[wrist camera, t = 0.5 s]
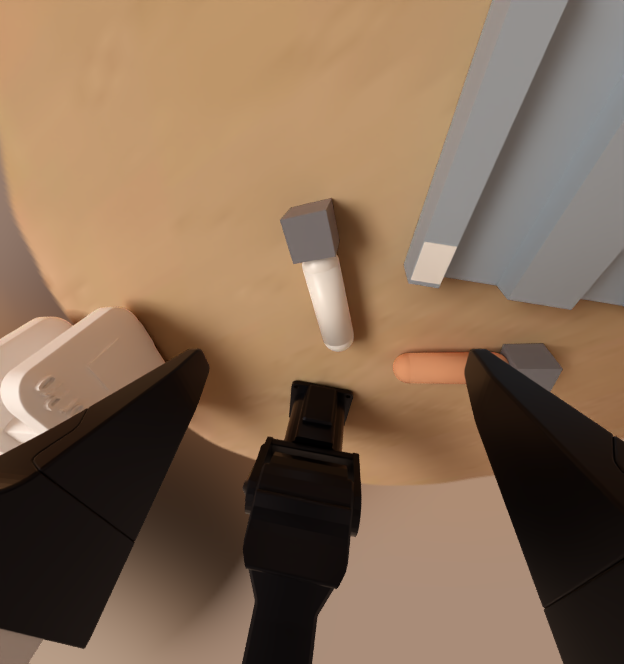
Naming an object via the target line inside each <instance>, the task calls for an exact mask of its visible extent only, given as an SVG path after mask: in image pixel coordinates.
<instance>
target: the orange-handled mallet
mask: <svg viewBox="0 0 624 664" xmlns="http://www.w3.org/2000/svg"><path fill="white" fill-rule="evenodd" d="M491 353H493V354H494V355H496V356H497V357H499V358H500V359H502V360H503V361H505V362H506V363H508V364H509V365H511V366H512V367H514V368H515V369H517V370H518V371H520V372H521V373H523V374H524V375H526V376H527V377H529V378H530V379H531V380H533V381H534V382H536V383H537V384H539V385H540V386H542V387H543V388H545V389H546V390H548V391H549V392H550V391H551V389H552V388H553V386H554V384H555V382H556V380H557V379H558V377H559V375H560V373H561V371H562V370H563V368H562V367H561V366H560V365H559V363H558V362H557V361H556V359H555V358H554V357H553V355H552V354H551V353H550V352H549V350H548V349H547V348H546V346H545V345H544V344H543V343H538V344H503V346H502V349H501V352H500V354H499V353H495V352H491ZM468 354H469V352H443V353H404V354H401V355H399V356H398V357H397V358H396V359H395V361H394V364H393V371H394V374H395V376H396V377H397V378H398V379H399V380H400V381H402V382H405V383H441V384H466V380H465V375H464V369H465V365H466V362H467V358H468Z"/></svg>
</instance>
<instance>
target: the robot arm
mask: <svg viewBox="0 0 624 664" xmlns="http://www.w3.org/2000/svg"><path fill="white" fill-rule="evenodd" d="M208 373H209V364H208V362H207V360H206V358H205V355H204V353H203V351H202V350H201V349H188V350H186V351H185V352H183V353H181V354H180V355H178V356H176V357H174V358H173V359H171V360H169V361H167V362H166V363H164V364H162V365H161V366H159V367H157V368H155V369H154V370H152V371H150V372H148V373H147V374H145V375H143V376H142V377H140V378H138V379H136V380H135V381H133V382H131V383H130V384H128V385H126V386H124V387H123V388H121V389H119V390H117V391H116V392H114V393H112V394H111V395H109V396H107V397H105V398H104V399H102V400H100V401H98V402H97V403H95V404H93V405H92V406H90V407H89V408H86V409H85V410H83V411H81V412H79V413H78V414H76V415H74V416H72V417H71V418H69V419H67V420H65V421H64V422H62V423H60V424H58V425H57V426H55V427H53V428H51V429H49V430H47V431H45V432H44V433H42V434H40V435H38V436H36V437H34V438H32V439H30V440H28V441H27V442H25V443H23V444H21V445H19V446H17V447H15V448H13V449H11V450H9V451H7V452H6V453H4V454H2V455H0V664H28V663H29V661H30V660H31V658H32V657H33V655H34V653H35V652H36V650H37V649H38V647H39V645H40V644H41V642H42V641H43V639H45V640H49V641H53V642H57V643H62V644H66V645H70V646H74V647H78V648H82V649H84V648H85V647H86V645H87V643H88V642H89V640H90V638H91V636H92V634H93V632H94V629H95V627H96V625H97V623H98V621H99V619H100V616H101V614H102V612H103V610H104V608H105V605H106V603H107V601H108V599H109V597H110V595H111V593H112V590H113V588H114V586H115V584H116V582H117V580H118V577H119V575H120V573H121V571H122V569H123V566H124V564H125V562H126V560H127V558H128V556H129V553H130V551H131V549H132V547H133V545H134V541H135V540H136V538H137V536H138V534H139V532H140V529H141V527H142V525H143V523H144V521H145V518H146V516H147V514H148V512H149V510H150V508H151V506H152V503H153V501H154V499H155V497H156V495H157V493H158V491H159V488H160V486H161V484H162V482H163V480H164V478H165V475H166V473H167V471H168V469H169V467H170V465H171V462H172V460H173V458H174V456H175V454H176V452H177V449H178V447H179V445H180V443H181V441H182V439H183V436H184V434H185V432H186V430H187V428H188V426H189V423H190V421H191V419H192V417H193V415H194V413H195V410H196V408H197V405H198V403H199V400H200V397H201V394H202V391H203V388H204V385H205V382H206V379H207V376H208ZM464 375H465V380H466V385H467V389H468V393H469V398H470V402H471V406H472V411H473V415H474V419H475V422H476V425H477V428H478V431H479V434H480V437H481V439H482V442H483V445H484V448H485V450H486V453H487V456H488V458H489V461H490V464H491V467H492V469H493V472H494V475H495V478H496V480H497V483H498V486H499V488H500V491H501V494H502V497H503V499H504V502H505V505H506V508H507V510H508V513H509V516H510V518H511V521H512V524H513V527H514V529H515V532H516V535H517V538H518V540H519V543H520V546H521V548H522V551H523V554H524V557H525V560H526V562H527V565H528V567H529V570H530V573H531V576H532V579H533V581H534V584H535V587H536V590H537V592H538V595H539V598H540V600H541V603H542V606H543V607H544V608H545V609H544V612H545V615H546V618H547V620H548V623H549V626H550V628H551V631H552V634H553V637H554V639H555V642H556V644H557V648H558V650H559V653H560V655H561V659H562V661H563V664H624V441H622V440H621V439H619V438H618V437H616V436H614V437H613V435H612V433H610V432H609V431H607V430H606V429H604V428H603V427H601V426H600V425H598V424H597V423H595V422H594V421H592V420H591V419H589V418H588V417H586V416H585V415H583V414H582V413H580V412H579V411H577V410H576V409H575V408H573V407H572V406H570V405H569V404H567V403H566V402H564V401H563V400H561V399H560V398H558V397H557V396H555V395H554V394H552V393H551V392H549V391H548V390H546V389H545V388H543V387H542V386H540V385H539V384H537V383H536V382H534V381H533V380H531V379H530V378H529V377H527V376H526V375H524V374H523V373H521V372H520V371H518V370H517V369H515V368H514V367H512V366H511V365H509V364H508V363H506V362H505V361H503V360H502V359H500V358H499V357H497V356H496V355H494V354H493V353H491V352H490V351H488V350H486V349H472V350H470V352H469V354H468V358H467V362H466V365H465V369H464ZM352 399H353V393H352V392H351V391H348V390H343V389H337V388H332V387H327V386H321V385H316V384H311V383H306V382H300V381H294V382H293V383H292V387H291V400H290V412H289V417H290V420H289V423H288V427H287V431H286V435H285V439H284V441H283V440H278V439H273V437H267V439H266V442H265V444H263V445H261V448H260V451H259V454H258V457H257V460H256V463H255V465H254V466H253V468H252V470H251V472H250V473H249V475H248V477H247V479H246V480H245V483H244V485H243V491H244V493H245V495H246V499H245V502H246V503H245V513H246V514H250V517H249V521H248V525H247V530H246V534H245V538H244V545H243V554H244V562H245V567H246V569H249V573H250V578H251V583H252V587H253V593H254V598H255V605H254V609H253V614H252V619H251V624H250V628H249V633H248V638H247V643H246V647H245V652H244V657H243V661H242V664H312V659H313V650H314V640H315V632H316V623H317V616H318V614H319V612H320V611H321V609H322V607H323V606H324V604H325V603H326V601H327V599H328V598H329V596H330V594H331V593H332V591H333V589H334V588H335V589H337V588H338V587H339V585H340V583H341V581H342V579H343V577H344V575H345V573H346V569H347V564H348V557H349V556H348V555H349V546H350V536H354V537H356V535H357V533H358V529H359V523H360V515H361V480H360V463H359V454H357V453H353V454H352V453H347V452H342V442H343V428H344V425H345V421H346V418H347V415H348V412H349V409H350V405H351V402H352Z"/></svg>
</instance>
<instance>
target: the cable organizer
mask: <svg viewBox="0 0 624 664" xmlns="http://www.w3.org/2000/svg"><path fill="white" fill-rule="evenodd" d="M164 363H165V361H164V360H163V358H162V357H161V355H160V354H159V352H158V350H157V349H156V347H155V345H154V342H153V341H152V339H151V337H150V336H149V334H148V333H147V331H146V330H145V328H144V326H143V325H142V323H141V322H140V321H139V320H138V319H137V318H136V316H135V315H134V314H133V313H132V312H130V311H129V310H127V309H125V308H123V307H101V308H98V309H96V310H95V311H93V312H92V313H90V314H89V315H88V316H86V317H85V318H83V319H82V320H81V321H79V322H78V323H76V324H75V325H74V326H73V325H72V324H70V323H69V322H68V321H66V320H64V319H62V318H58V317H38V318H35V319H33V320H31V321H29V322H28V323H26V324H24V325H23V326H21V327H19V328H18V329H16V330H15V331H13V332H11V333H10V334H8V335H6V336H5V337H3V338H1V339H0V455H2V454H4V453H6V452H7V451H9V450H11V449H13V448H15V447H17V446H19V445H21V444H23V443H25V442H27V441H28V440H30V439H32V438H34V437H36V436H38V435H40V434H42V433H44V432H45V431H47V430H49V429H51V428H53V427H55V426H57V425H58V424H60V423H62V422H64V421H65V420H67V419H69V418H71V417H72V416H74V415H76V414H78V413H79V412H81V411H83V410H85V409H86V408H89V407H90V406H92V405H93V404H95V403H97V402H98V401H100V400H102V399H104V398H105V397H107V396H109V395H111V394H112V393H114V392H116V391H117V390H119V389H121V388H123V387H124V386H126V385H128V384H130V383H131V382H133V381H135V380H136V379H138V378H140V377H142V376H143V375H145V374H147V373H148V372H150V371H152V370H154V369H155V368H157V367H159V366H161V365H162V364H164Z"/></svg>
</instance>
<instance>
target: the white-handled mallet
mask: <svg viewBox="0 0 624 664" xmlns="http://www.w3.org/2000/svg"><path fill="white" fill-rule="evenodd" d="M280 222H281V225H282V228H283V232H284V235H285V238H286V241H287V245H288V248H289V251H290V254H291V258H292V261H293V264H296V263H302V267H303V272H304V275H305V279H306V282H307V286H308V289H309V293H310V296H311V300H312V303H313V307H314V310H315V314H316V317H317V321H318V324H319V327H320V331H321V334H322V338H323V341H324V343H325V345H326V346H327V347H328V348H329V349H330V350H333V351H336V352H340V351H344V350H346V349H348V348H349V347H350V346H351V344H352V342H353V339H354V332H353V327H352V322H351V317H350V312H349V307H348V302H347V297H346V292H345V287H344V282H343V277H342V272H341V267H340V262H339V258H338V256H337V254H336V253H337V249H338V245H339V241H340V240H339V235H338V230H337V224H336V219H335V214H334V209H333V203H332V198H329V199H325V200H321V201H317V202H312V203H308V204H304V205H300V206H296V207H291V208H290V209H289V210H288V211H287V213H286V214H285V215H284V216H283V217H282V218H281V220H280Z"/></svg>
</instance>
